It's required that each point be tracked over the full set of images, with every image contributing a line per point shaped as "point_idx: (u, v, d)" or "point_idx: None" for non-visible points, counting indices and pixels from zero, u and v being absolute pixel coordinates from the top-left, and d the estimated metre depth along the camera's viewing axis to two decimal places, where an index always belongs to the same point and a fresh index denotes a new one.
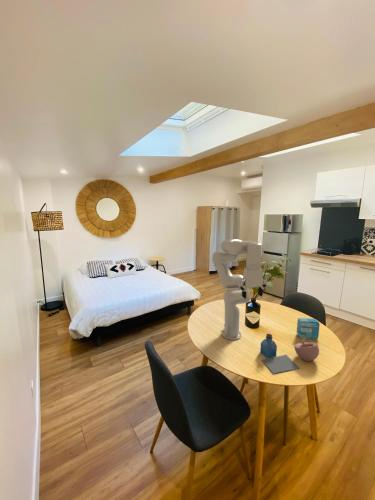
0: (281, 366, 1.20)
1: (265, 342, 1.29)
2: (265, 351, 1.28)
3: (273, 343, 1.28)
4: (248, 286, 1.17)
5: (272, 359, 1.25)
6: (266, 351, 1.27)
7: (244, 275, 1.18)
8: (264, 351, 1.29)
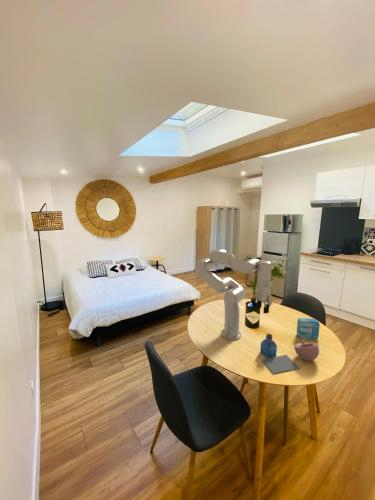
0: (281, 366, 1.20)
1: (265, 342, 1.29)
2: (265, 351, 1.28)
3: (273, 343, 1.28)
4: None
5: (272, 359, 1.25)
6: (266, 351, 1.27)
7: (267, 292, 1.27)
8: (264, 351, 1.29)
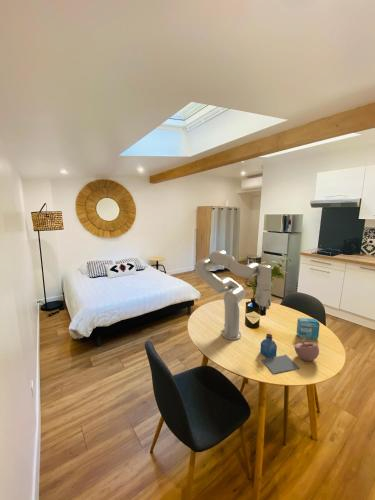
0: (281, 366, 1.20)
1: (265, 342, 1.29)
2: (265, 351, 1.28)
3: (273, 343, 1.28)
4: None
5: (272, 359, 1.25)
6: (266, 351, 1.27)
7: (267, 296, 1.27)
8: (264, 351, 1.29)
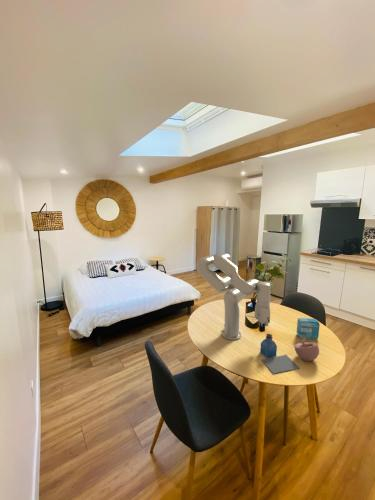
0: (281, 366, 1.20)
1: (265, 342, 1.29)
2: (265, 351, 1.28)
3: (273, 343, 1.28)
4: None
5: (272, 359, 1.25)
6: (266, 351, 1.27)
7: (267, 314, 1.29)
8: (264, 351, 1.29)
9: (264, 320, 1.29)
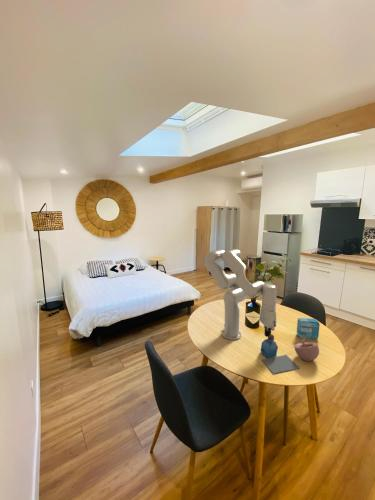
0: (281, 366, 1.20)
1: (266, 342, 1.28)
2: (265, 351, 1.28)
3: (274, 344, 1.27)
4: None
5: (272, 359, 1.25)
6: (267, 352, 1.27)
7: (273, 318, 1.24)
8: (264, 351, 1.29)
9: (270, 324, 1.24)
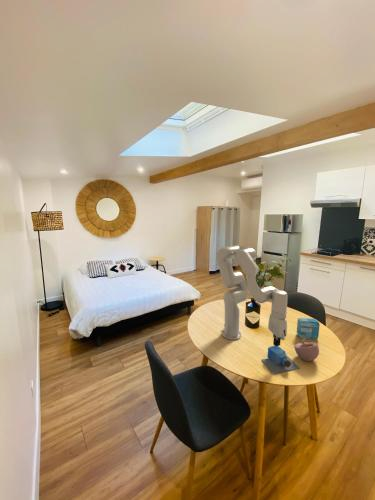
0: (281, 366, 1.20)
1: (279, 360, 1.19)
2: (271, 356, 1.24)
3: None
4: None
5: None
6: (272, 359, 1.23)
7: (283, 326, 1.15)
8: (271, 355, 1.24)
9: (280, 333, 1.15)
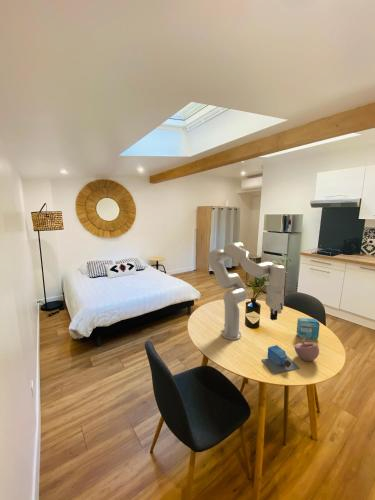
0: (281, 366, 1.20)
1: (279, 360, 1.19)
2: (271, 356, 1.24)
3: None
4: None
5: None
6: (272, 359, 1.23)
7: (280, 300, 1.16)
8: (271, 355, 1.24)
9: (277, 306, 1.17)
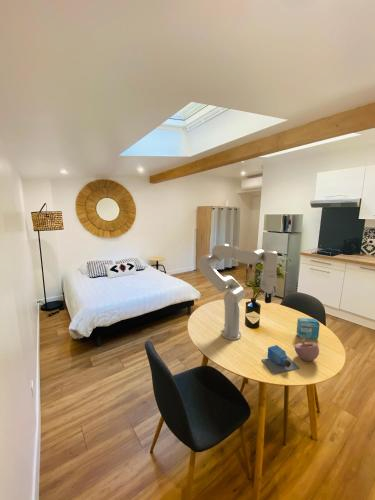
0: (281, 366, 1.20)
1: (279, 360, 1.19)
2: (271, 356, 1.24)
3: None
4: None
5: None
6: (272, 359, 1.23)
7: (273, 283, 1.24)
8: (271, 355, 1.24)
9: (270, 289, 1.25)
